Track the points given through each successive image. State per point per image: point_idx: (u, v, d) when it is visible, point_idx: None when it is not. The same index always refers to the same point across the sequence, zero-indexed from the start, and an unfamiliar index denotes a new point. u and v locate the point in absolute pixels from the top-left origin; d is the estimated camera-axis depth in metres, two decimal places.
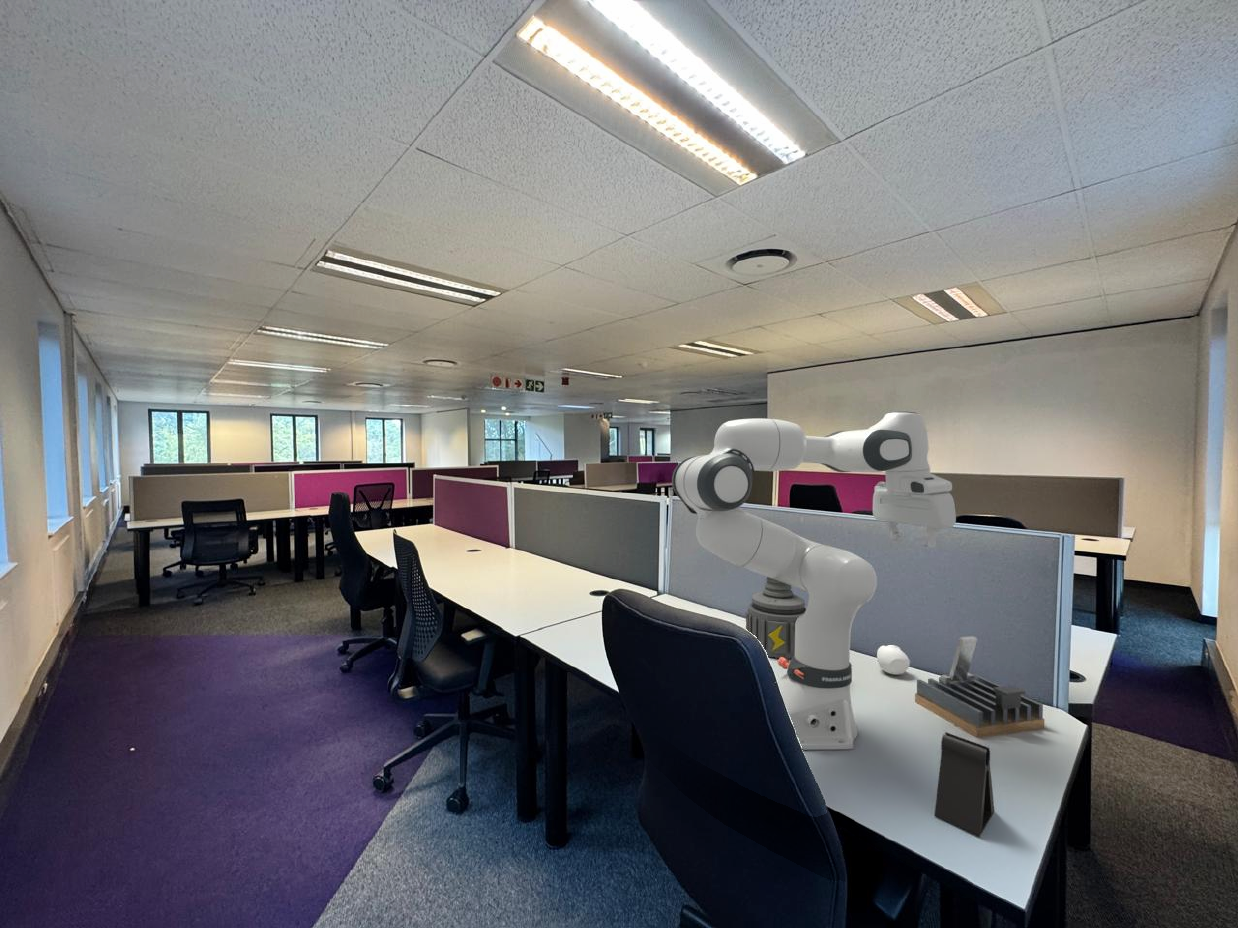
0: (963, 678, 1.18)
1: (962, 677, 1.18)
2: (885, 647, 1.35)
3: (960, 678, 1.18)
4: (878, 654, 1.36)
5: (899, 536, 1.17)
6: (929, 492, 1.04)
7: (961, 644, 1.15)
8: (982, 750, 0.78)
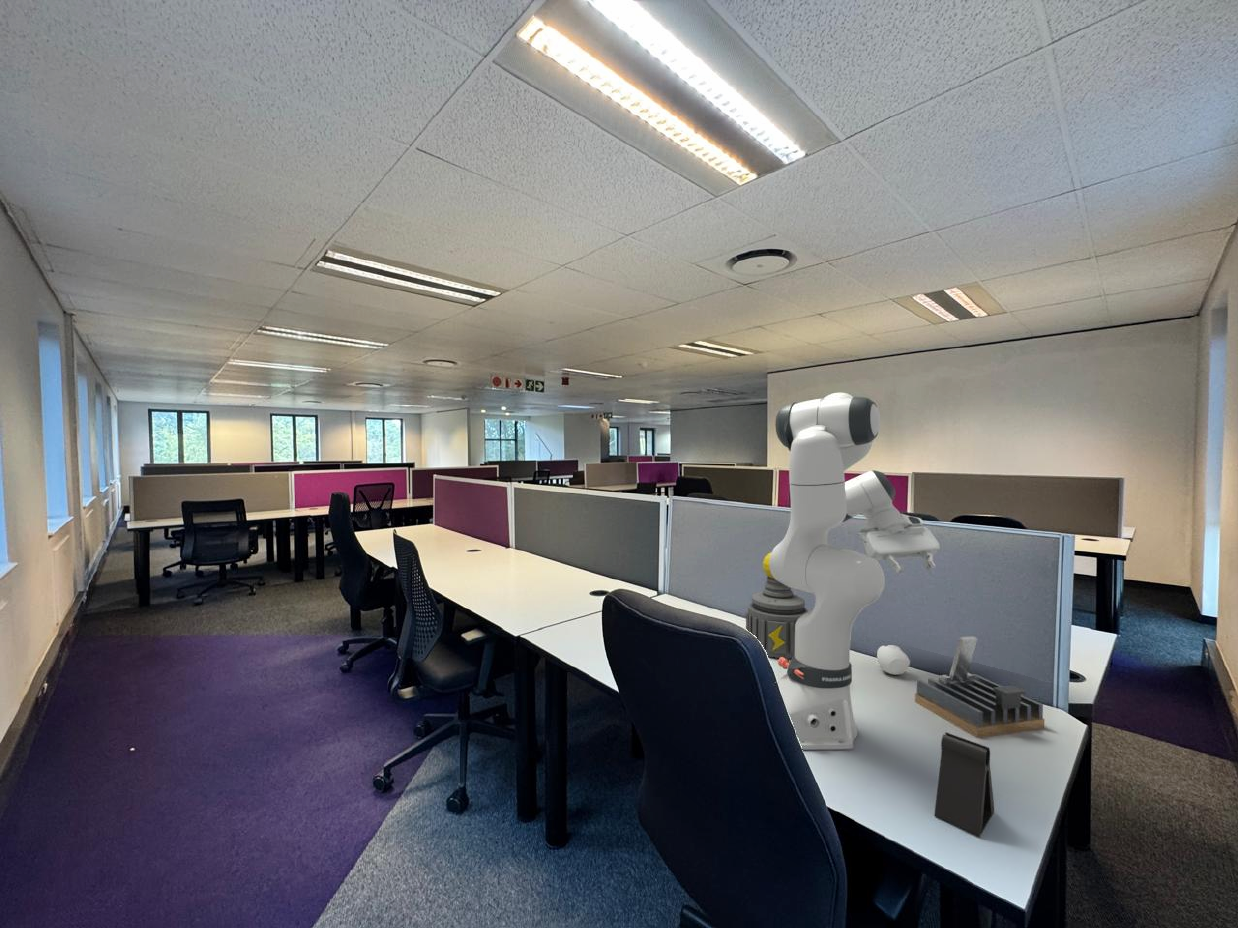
0: (963, 678, 1.18)
1: (962, 677, 1.18)
2: (885, 647, 1.35)
3: (960, 678, 1.18)
4: (878, 654, 1.36)
5: None
6: None
7: (961, 644, 1.15)
8: (982, 750, 0.78)
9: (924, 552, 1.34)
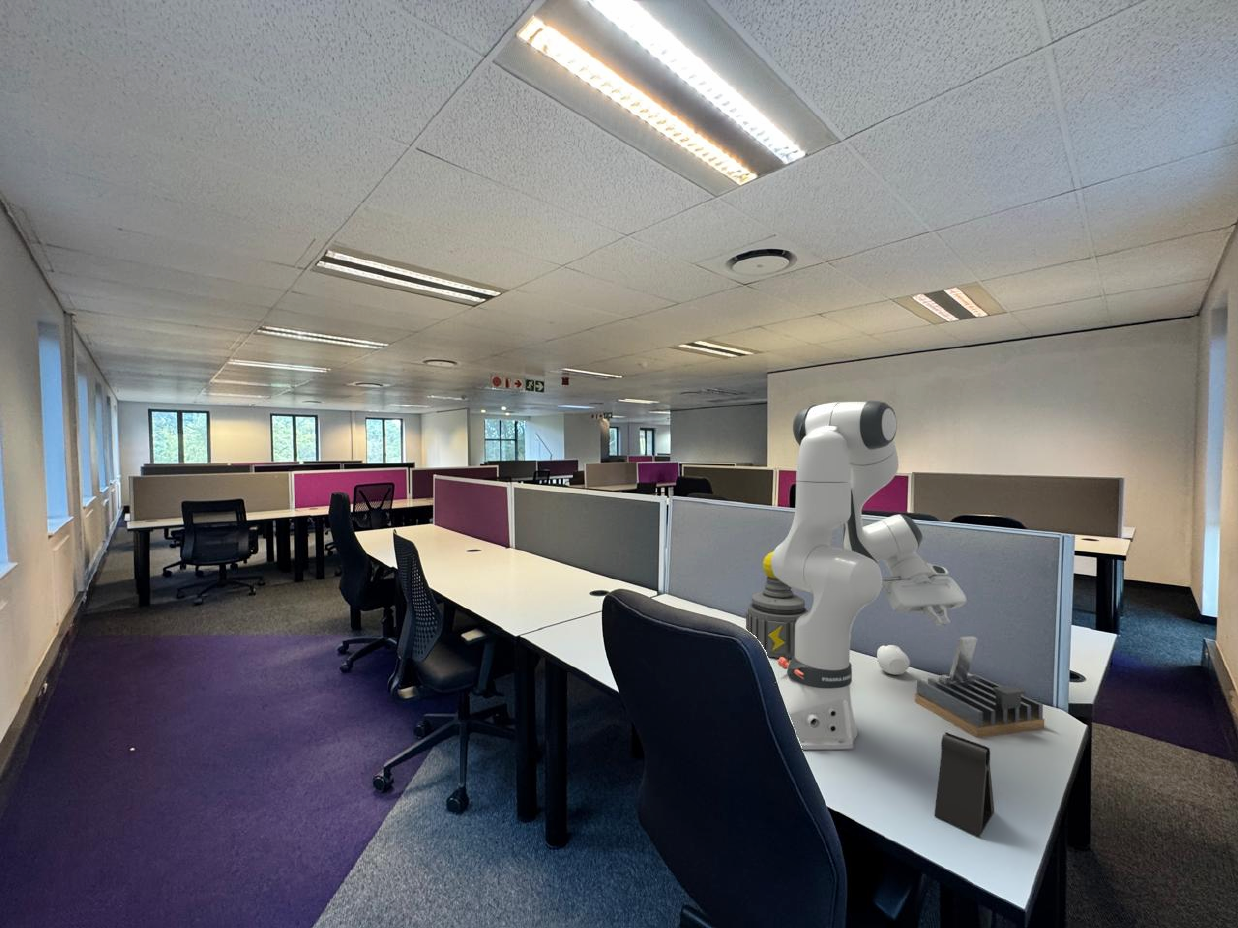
0: (963, 678, 1.18)
1: (962, 677, 1.18)
2: (885, 647, 1.35)
3: (960, 678, 1.18)
4: (878, 654, 1.36)
5: None
6: None
7: (961, 644, 1.15)
8: (982, 750, 0.78)
9: (937, 606, 1.25)
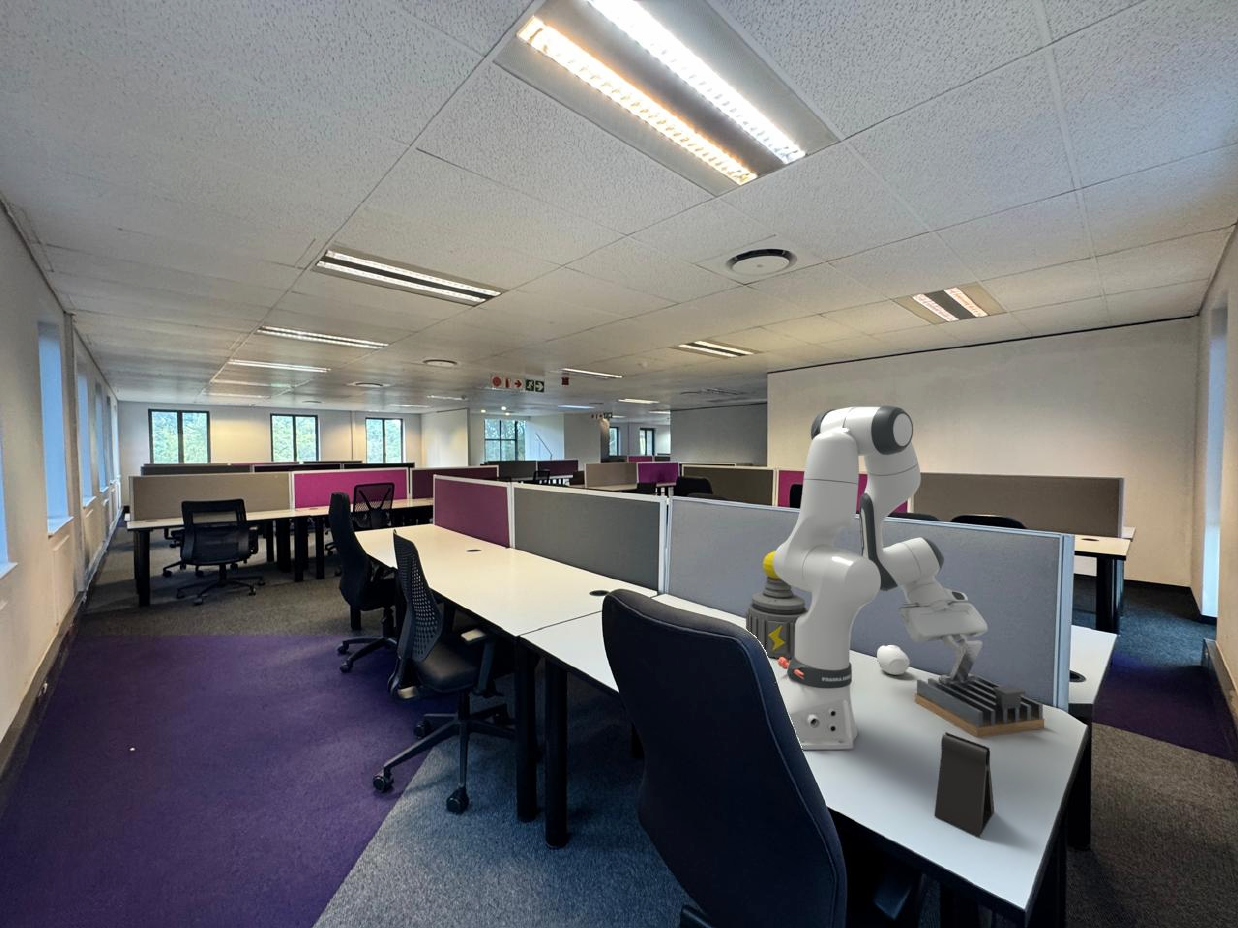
0: (963, 678, 1.18)
1: (962, 677, 1.18)
2: (885, 647, 1.35)
3: (960, 679, 1.18)
4: (878, 654, 1.36)
5: None
6: None
7: (966, 648, 1.14)
8: (982, 750, 0.78)
9: (958, 635, 1.20)
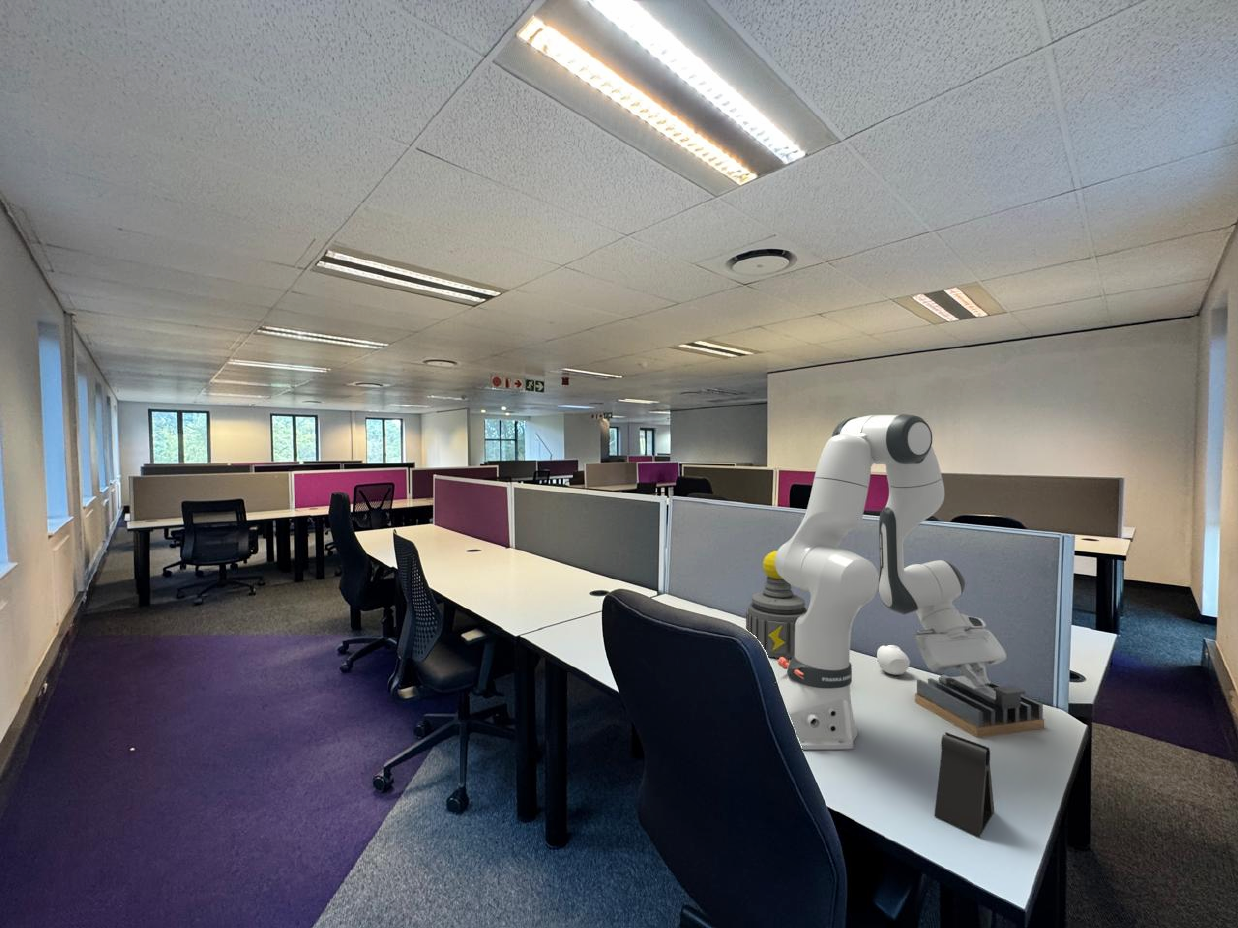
0: None
1: None
2: (885, 647, 1.35)
3: None
4: (878, 654, 1.36)
5: None
6: None
7: (989, 700, 1.09)
8: (982, 750, 0.78)
9: (975, 663, 1.16)
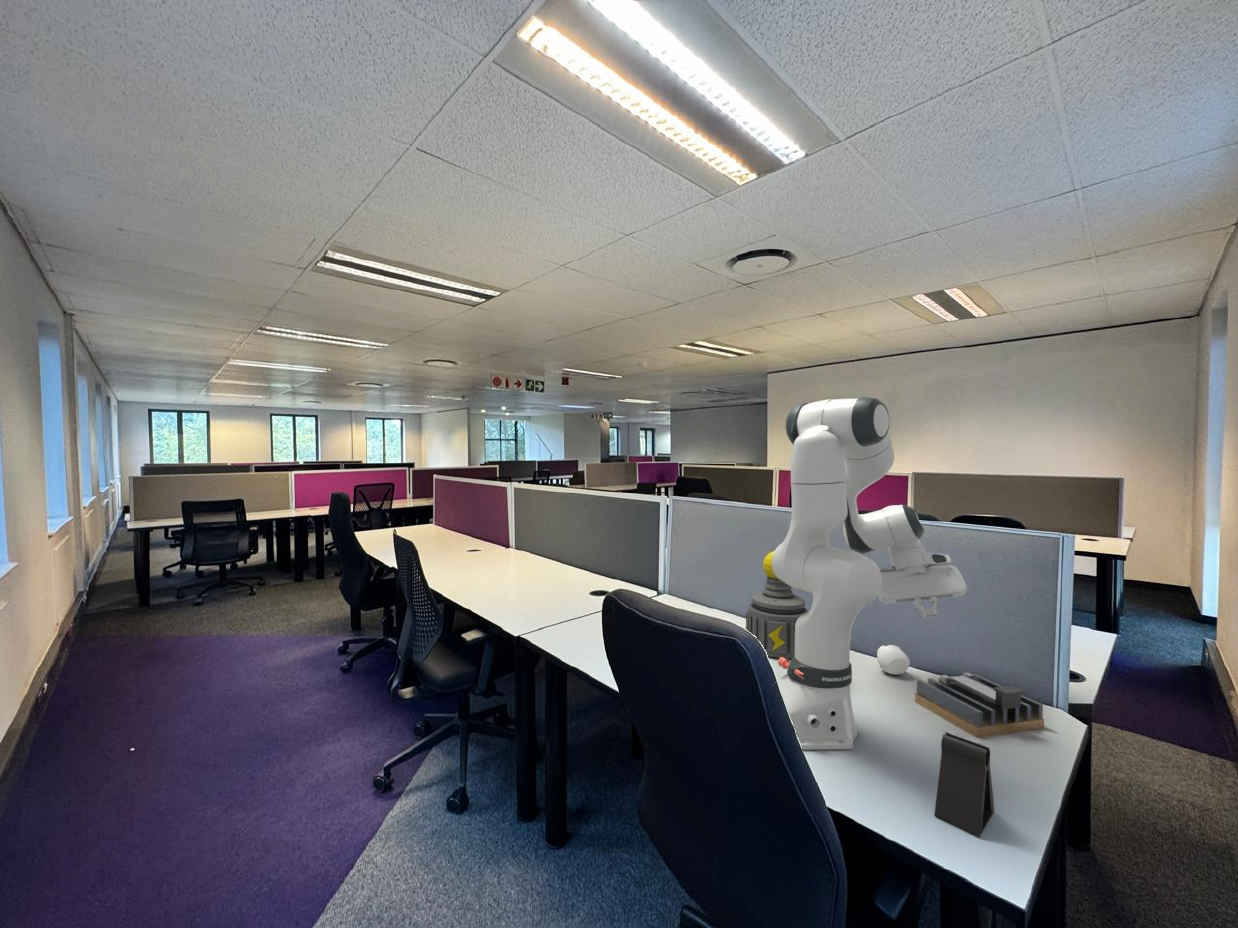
0: None
1: None
2: (885, 647, 1.35)
3: None
4: (878, 654, 1.36)
5: None
6: (950, 561, 1.28)
7: (989, 700, 1.09)
8: (982, 750, 0.78)
9: (929, 597, 1.27)
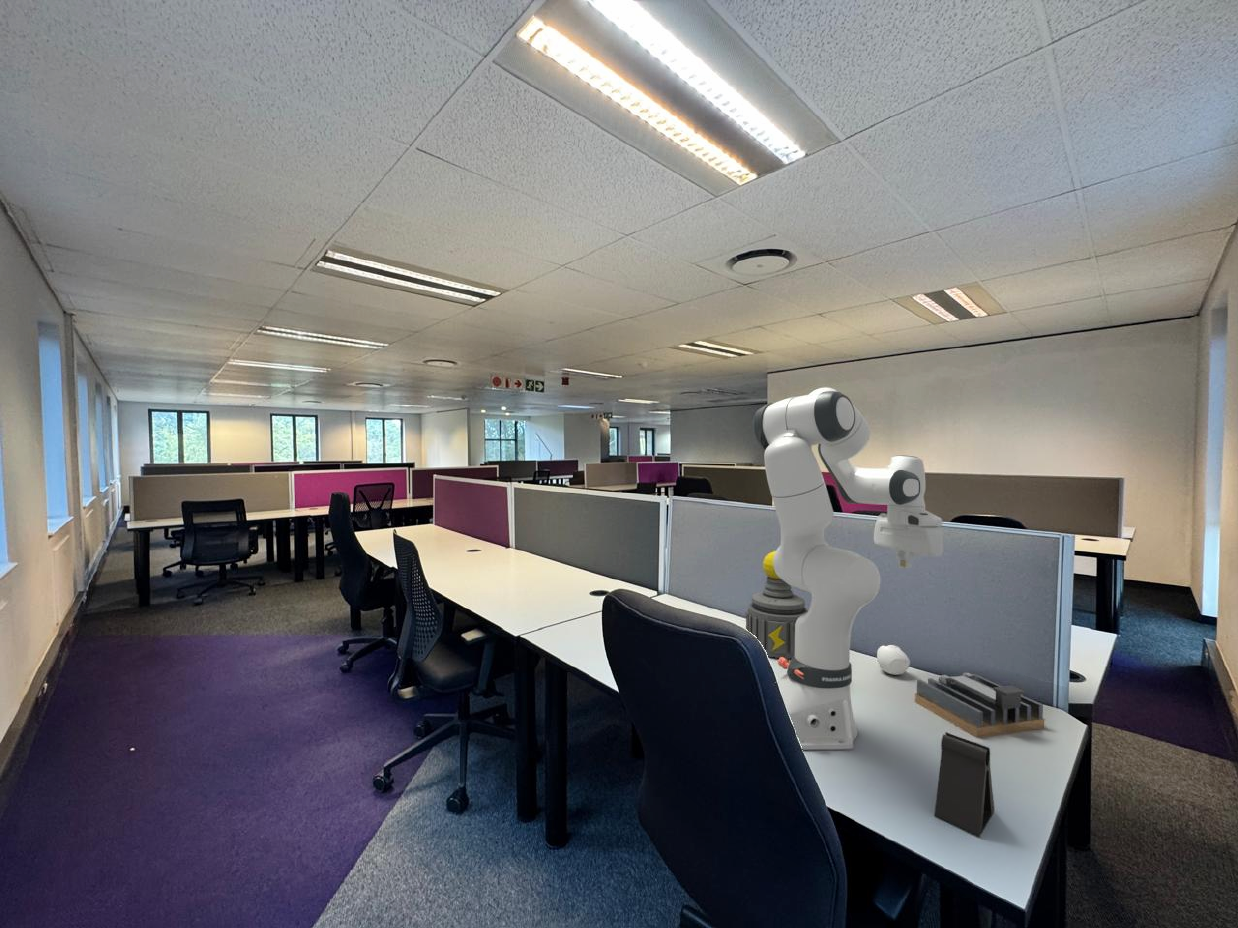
0: None
1: None
2: (885, 647, 1.35)
3: None
4: (878, 654, 1.36)
5: None
6: (923, 525, 1.25)
7: (989, 700, 1.09)
8: (982, 750, 0.78)
9: None
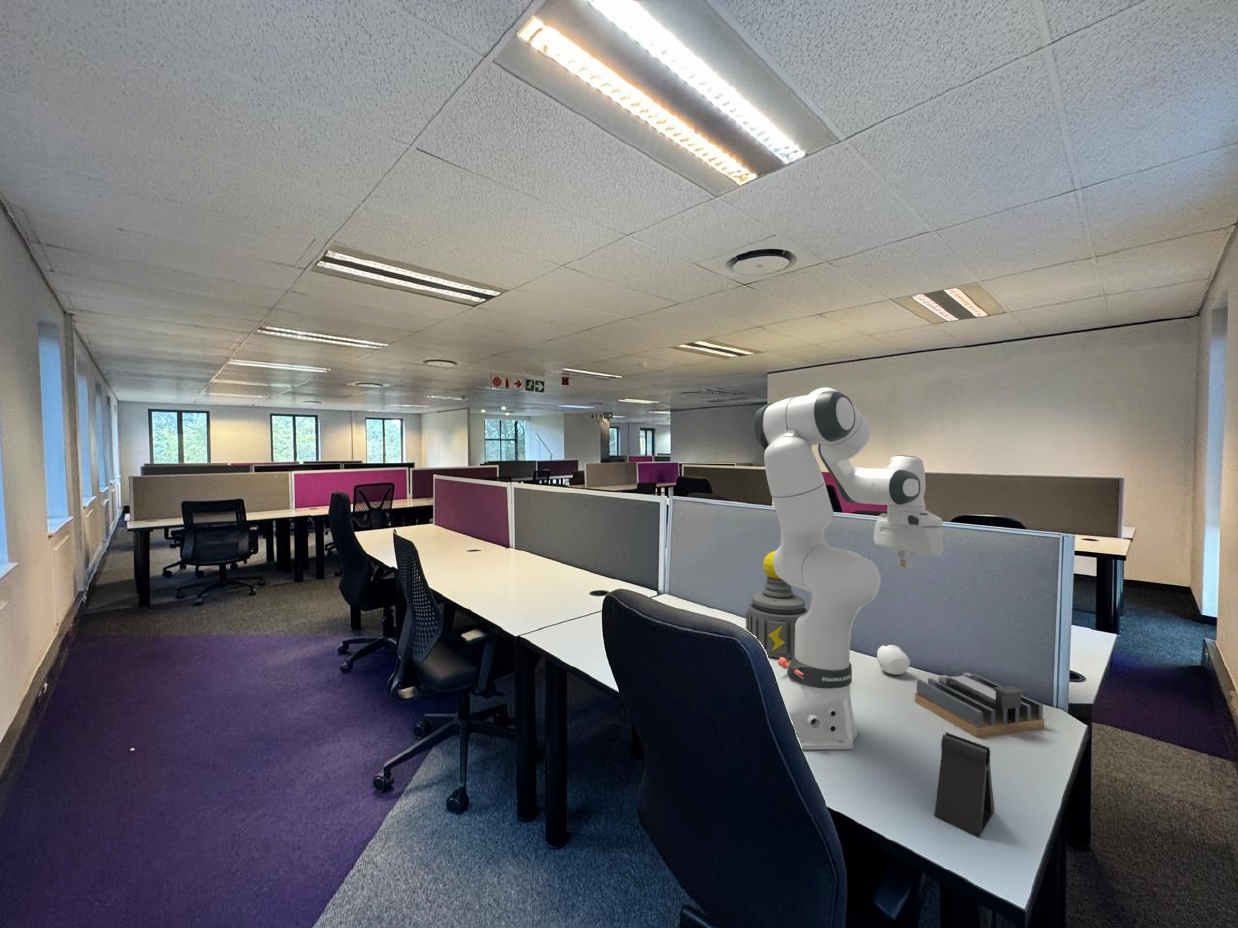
0: None
1: None
2: (885, 647, 1.35)
3: None
4: (878, 654, 1.36)
5: None
6: (923, 525, 1.25)
7: (989, 700, 1.09)
8: (982, 750, 0.78)
9: None
